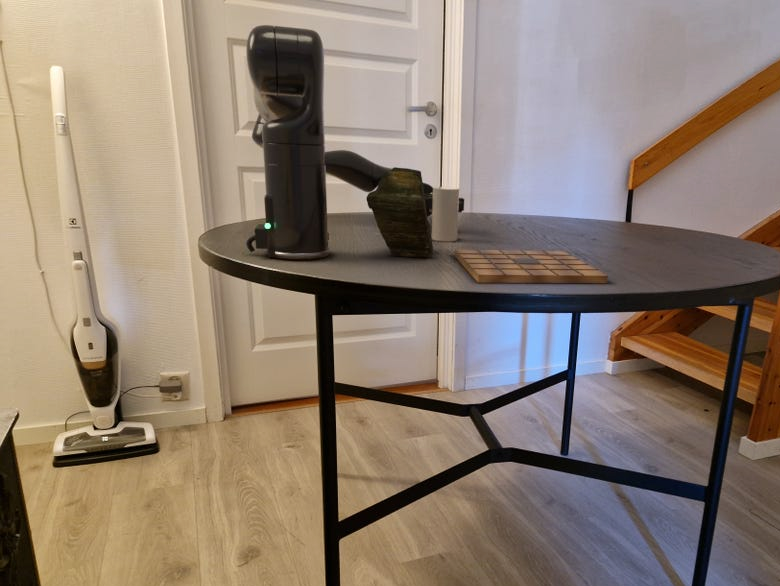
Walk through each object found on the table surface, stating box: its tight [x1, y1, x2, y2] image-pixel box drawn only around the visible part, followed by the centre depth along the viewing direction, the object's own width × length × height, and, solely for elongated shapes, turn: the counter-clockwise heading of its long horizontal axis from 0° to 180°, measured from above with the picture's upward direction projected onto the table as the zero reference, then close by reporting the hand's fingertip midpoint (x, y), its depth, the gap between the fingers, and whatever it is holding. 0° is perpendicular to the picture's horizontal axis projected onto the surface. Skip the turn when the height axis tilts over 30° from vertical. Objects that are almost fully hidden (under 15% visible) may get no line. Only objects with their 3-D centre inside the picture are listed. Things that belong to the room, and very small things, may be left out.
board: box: [454, 248, 609, 284], centre depth 100 cm, size 20×20×1 cm
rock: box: [366, 167, 434, 259], centre depth 104 cm, size 12×9×15 cm
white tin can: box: [431, 186, 460, 242], centre depth 122 cm, size 5×5×10 cm
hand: (440, 207), depth 124 cm, fingers open, 8 cm apart
